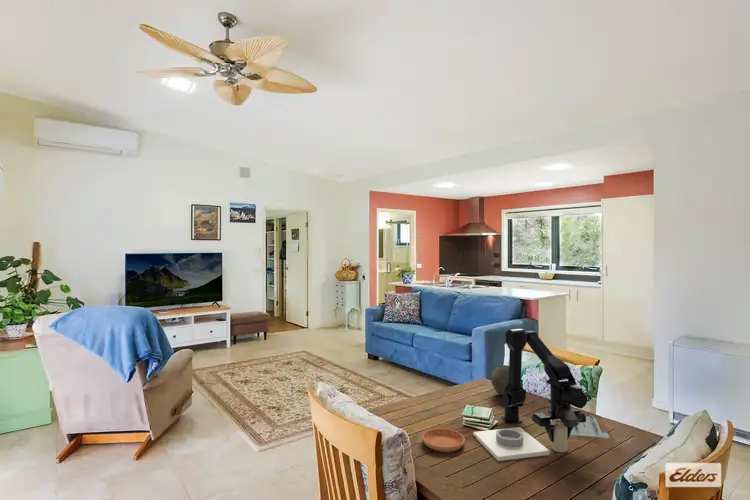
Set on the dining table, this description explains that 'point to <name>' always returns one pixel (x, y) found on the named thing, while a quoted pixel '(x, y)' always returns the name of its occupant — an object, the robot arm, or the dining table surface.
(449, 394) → the dining table surface
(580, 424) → the metal bracket
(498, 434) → the collar plate
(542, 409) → the dining table surface
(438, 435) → the saucer
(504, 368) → the dark olive sphere
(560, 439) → the candle
